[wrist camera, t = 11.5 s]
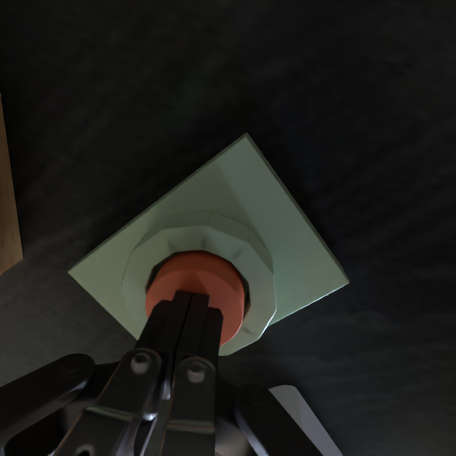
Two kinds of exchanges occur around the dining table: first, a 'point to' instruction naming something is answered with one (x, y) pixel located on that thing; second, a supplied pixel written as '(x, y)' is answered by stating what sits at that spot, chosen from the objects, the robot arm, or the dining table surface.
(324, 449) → the charger
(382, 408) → the dining table surface
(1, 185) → the panel
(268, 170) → the button box
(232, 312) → the button
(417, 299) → the dining table surface
